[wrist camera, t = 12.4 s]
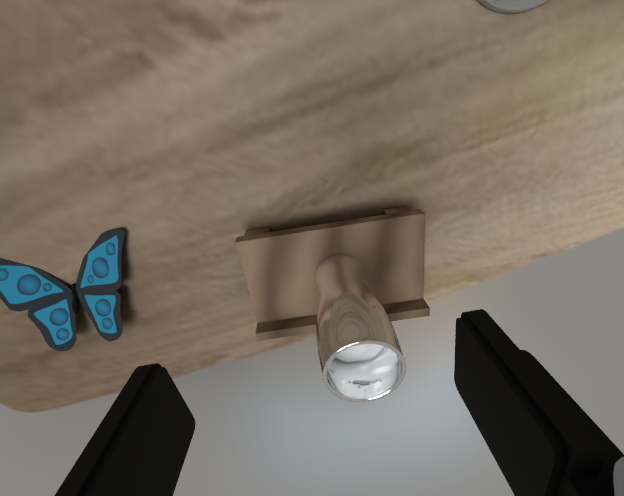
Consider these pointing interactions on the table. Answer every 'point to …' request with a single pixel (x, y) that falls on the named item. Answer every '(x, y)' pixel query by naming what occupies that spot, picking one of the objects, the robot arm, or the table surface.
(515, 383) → the robot arm
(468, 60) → the table surface
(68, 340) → the decorative butterfly
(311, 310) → the display ledge
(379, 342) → the beer glass
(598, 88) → the table surface
